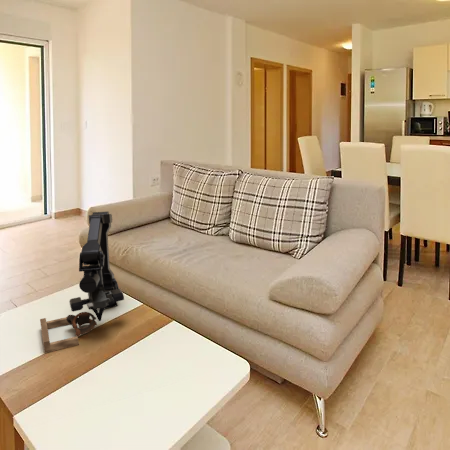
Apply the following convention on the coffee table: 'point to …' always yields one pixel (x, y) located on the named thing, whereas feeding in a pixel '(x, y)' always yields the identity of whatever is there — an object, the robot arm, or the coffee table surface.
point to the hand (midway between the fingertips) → (99, 320)
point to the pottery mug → (82, 322)
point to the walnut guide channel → (57, 344)
